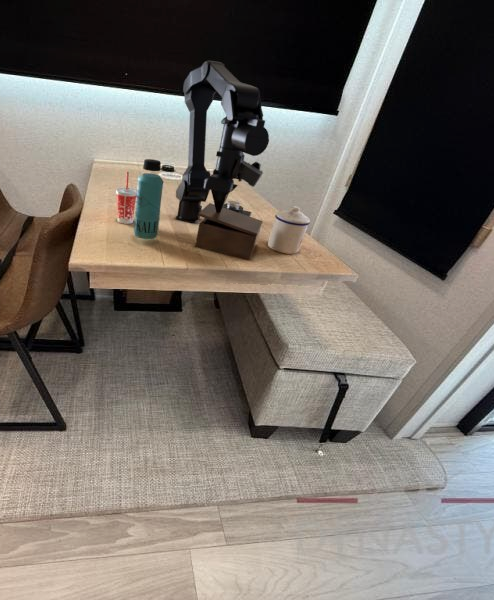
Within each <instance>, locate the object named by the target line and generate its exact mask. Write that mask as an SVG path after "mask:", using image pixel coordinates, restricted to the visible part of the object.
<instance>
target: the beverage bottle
mask: <svg viewBox="0 0 494 600" xmlns="http://www.w3.org/2000/svg"><path fill="white" fill-rule="evenodd" d="M142 169H143V170H145V171H148V172H145V173H142V174H141V175H140V176H139V177H138V178H137V188H136V190H137V192H136V193H137V195H136V201H135V212H134V217H133V222H134V223H133V235H134V236H135V237H136V238H139V239H143V240H152V239H155V238H157V236H158V235H159V228H160V219H161V204H162V197H163V185H164V179H163V178H162V177H161V176H160V175H158V174H156V173H149V172H161V169H162V167H161V161H160V160H157V159H152V158H146V159H144V161H143V165H142Z"/></svg>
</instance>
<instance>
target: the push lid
mask: <svg viewBox="0 0 494 600" xmlns="http://www.w3.org/2000/svg"><path fill="white" fill-rule="evenodd" d="M227 203H228V204H227V207H229V208H233V209H239V206H241V203H240V202H239V201H235V200H228V201H227Z"/></svg>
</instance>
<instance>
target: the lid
mask: <svg viewBox="0 0 494 600" xmlns="http://www.w3.org/2000/svg"><path fill="white" fill-rule="evenodd" d="M198 216H200V218H203V219H204V218H206V219H209V220H212V221H215V222H217V223H220V224H223V225H226V226H229V227H231V228H234V229H237V230H240V231H243V232H246V233H248V234H251V235H254V236H257V233H258V231H259V229H260V230H261V228H260V226H261V227H262V225H263V220H261V219H258V218H255V217H252V216H250V217H249V216H246V215H243V214H241V213H238V212H235V211H232V210H229V209H226V208H222V210H221V212H220V213H218V212H216V209H215V205H214V203H211V202H209V203H208V204H206V205H205V206H204V207H203V208H202V209H201V211H200V212H199V213H198ZM261 224H262V225H261Z"/></svg>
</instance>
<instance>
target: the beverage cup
mask: <svg viewBox="0 0 494 600" xmlns="http://www.w3.org/2000/svg"><path fill="white" fill-rule="evenodd" d="M129 175H130V172H129V171H126V184H125V185H126V186H125V187H118V188H116V190H115V192H116V208H117V209H116V211H117V213H116V214H117V222H118V223H120V224H125V225H127V224H133V223H134V218H135V210H136V199H137V197H136V196H137V193H136V192H137V189H135V188H130V187H129Z"/></svg>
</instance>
